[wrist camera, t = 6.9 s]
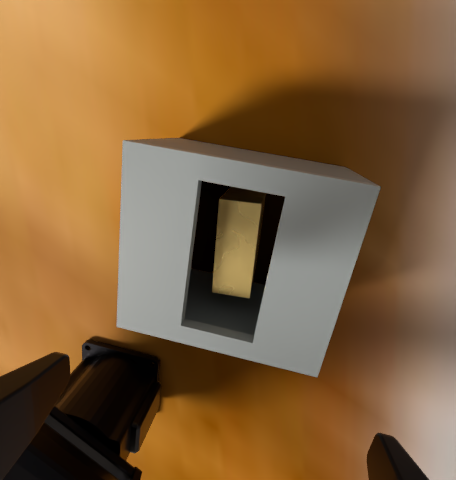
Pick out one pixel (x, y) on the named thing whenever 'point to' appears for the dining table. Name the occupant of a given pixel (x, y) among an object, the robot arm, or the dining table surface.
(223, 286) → the block
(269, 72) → the dining table surface
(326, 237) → the coin box
